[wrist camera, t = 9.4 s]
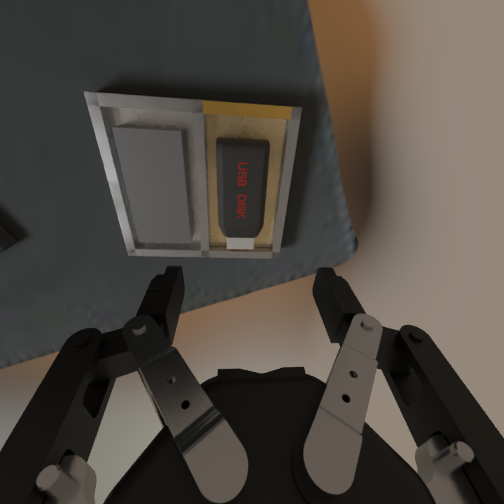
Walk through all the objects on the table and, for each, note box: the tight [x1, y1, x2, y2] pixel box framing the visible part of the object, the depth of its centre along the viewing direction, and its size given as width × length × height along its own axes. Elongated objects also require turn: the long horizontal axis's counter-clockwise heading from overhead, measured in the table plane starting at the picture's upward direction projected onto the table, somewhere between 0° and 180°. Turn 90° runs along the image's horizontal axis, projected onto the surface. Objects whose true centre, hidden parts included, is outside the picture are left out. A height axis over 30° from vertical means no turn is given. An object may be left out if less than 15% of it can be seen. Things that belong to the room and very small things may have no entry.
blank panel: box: [112, 125, 194, 244], centre depth 25 cm, size 12×6×2 cm, turn 176°
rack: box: [84, 92, 302, 259], centre depth 26 cm, size 17×19×2 cm
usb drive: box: [216, 138, 270, 249], centre depth 26 cm, size 5×12×3 cm, turn 177°
